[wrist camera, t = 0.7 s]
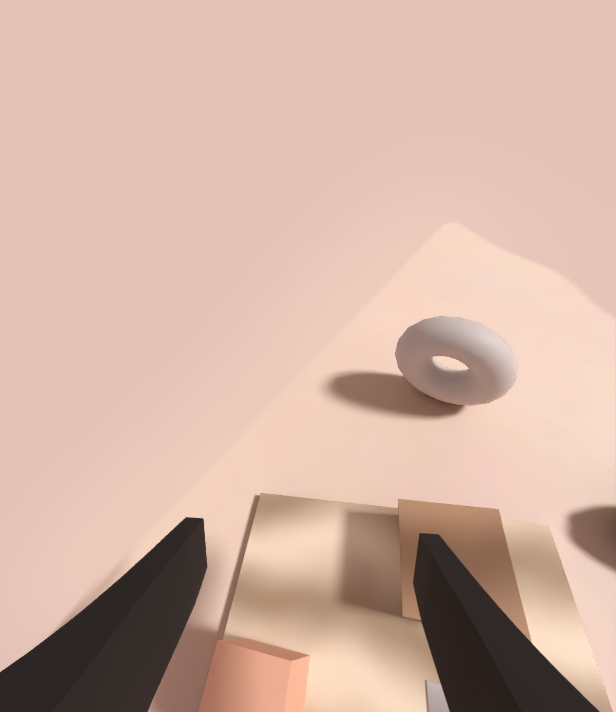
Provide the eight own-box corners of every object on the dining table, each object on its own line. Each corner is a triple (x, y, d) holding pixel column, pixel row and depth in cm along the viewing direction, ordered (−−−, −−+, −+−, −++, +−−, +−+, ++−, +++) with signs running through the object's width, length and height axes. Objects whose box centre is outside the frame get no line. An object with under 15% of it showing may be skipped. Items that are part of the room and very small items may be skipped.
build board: (697, 985, 11) (717, 1009, 10) (195, 766, 17) (186, 772, 16) (544, 527, 20) (549, 524, 20) (263, 496, 27) (260, 492, 26)
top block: (296, 775, 15) (269, 813, 12) (223, 745, 16) (181, 773, 13) (310, 655, 18) (291, 661, 15) (246, 637, 19) (217, 640, 16)
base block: (509, 640, 17) (532, 643, 14) (402, 617, 18) (402, 615, 16) (485, 525, 21) (498, 509, 18) (398, 515, 22) (398, 499, 19)
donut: (390, 391, 31) (388, 322, 24) (402, 369, 33) (403, 298, 26) (496, 427, 26) (532, 353, 19) (504, 398, 28) (539, 320, 21)
